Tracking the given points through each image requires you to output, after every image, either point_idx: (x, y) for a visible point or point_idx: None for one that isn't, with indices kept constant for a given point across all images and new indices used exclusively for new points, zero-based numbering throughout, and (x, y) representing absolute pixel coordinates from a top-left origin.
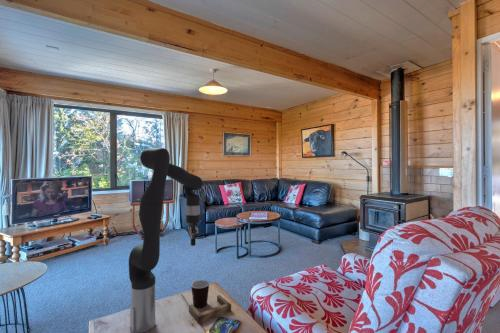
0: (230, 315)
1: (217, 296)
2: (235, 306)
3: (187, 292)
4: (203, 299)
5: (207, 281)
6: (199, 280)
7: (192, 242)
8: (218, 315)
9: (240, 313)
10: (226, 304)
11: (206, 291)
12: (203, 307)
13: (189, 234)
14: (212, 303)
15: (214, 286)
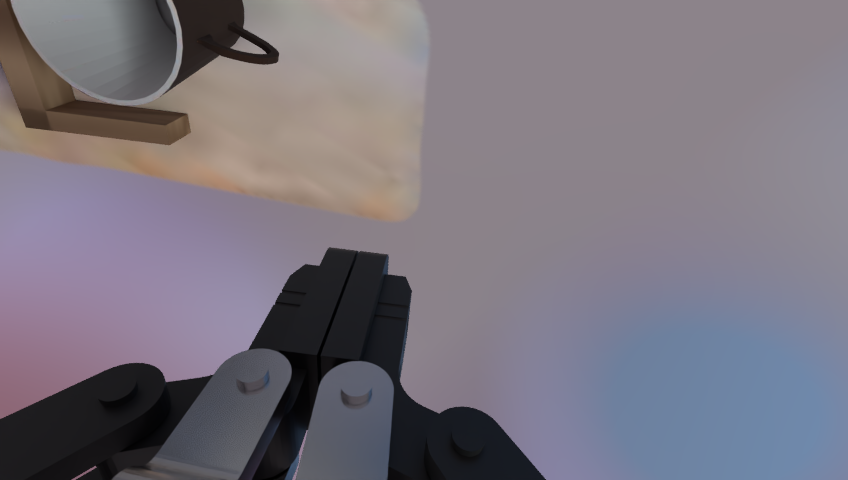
0: None
1: (159, 123)
2: (97, 161)
3: (420, 24)
4: (106, 3)
5: (127, 102)
6: (178, 56)
7: (300, 299)
8: None
9: (20, 138)
10: (34, 106)
11: (70, 36)
12: (153, 3)
13: (441, 476)
14: None
15: (376, 210)
